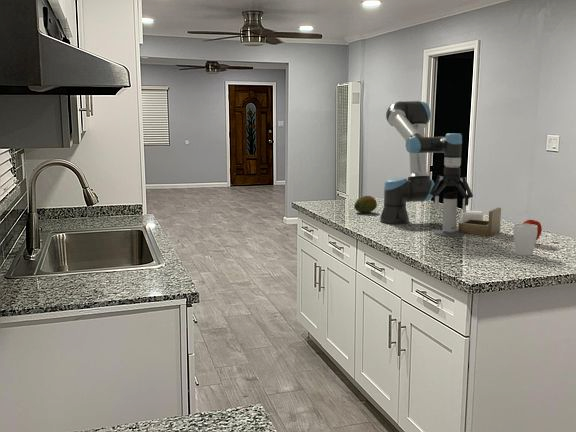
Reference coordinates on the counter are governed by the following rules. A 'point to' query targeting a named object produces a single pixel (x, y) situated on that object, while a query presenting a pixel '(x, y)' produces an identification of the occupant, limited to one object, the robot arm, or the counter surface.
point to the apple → (539, 228)
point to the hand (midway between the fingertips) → (450, 210)
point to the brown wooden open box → (482, 225)
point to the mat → (449, 234)
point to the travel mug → (449, 212)
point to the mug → (472, 215)
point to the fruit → (365, 204)
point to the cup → (525, 239)
